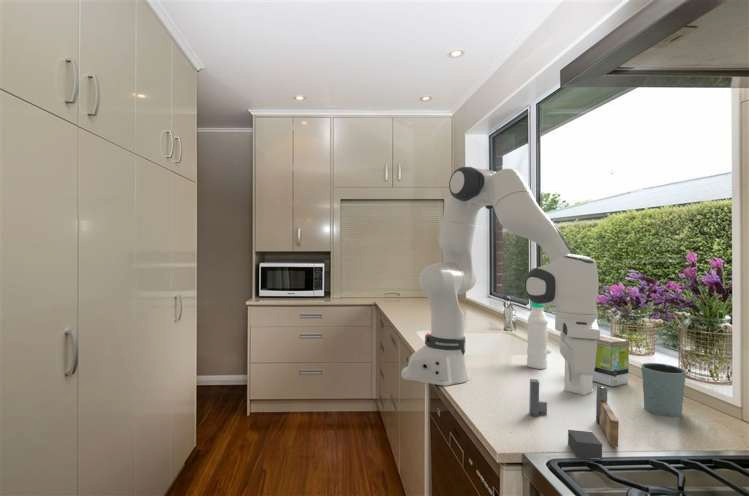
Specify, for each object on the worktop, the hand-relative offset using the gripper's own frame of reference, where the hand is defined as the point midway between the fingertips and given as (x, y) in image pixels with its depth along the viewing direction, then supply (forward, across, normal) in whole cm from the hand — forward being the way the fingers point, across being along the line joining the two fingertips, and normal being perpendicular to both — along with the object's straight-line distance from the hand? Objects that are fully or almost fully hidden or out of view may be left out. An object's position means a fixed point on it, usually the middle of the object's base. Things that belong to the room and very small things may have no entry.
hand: (574, 383), depth 95 cm
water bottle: (+13, -62, -1) cm, 63 cm away
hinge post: (+13, -12, +9) cm, 20 cm away
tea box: (+13, -53, +18) cm, 58 cm away
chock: (+13, +6, +1) cm, 14 cm away
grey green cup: (+13, -27, +28) cm, 40 cm away
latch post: (+13, -12, -6) cm, 19 cm away
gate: (+12, -4, +8) cm, 15 cm away
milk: (+13, -37, +8) cm, 40 cm away
